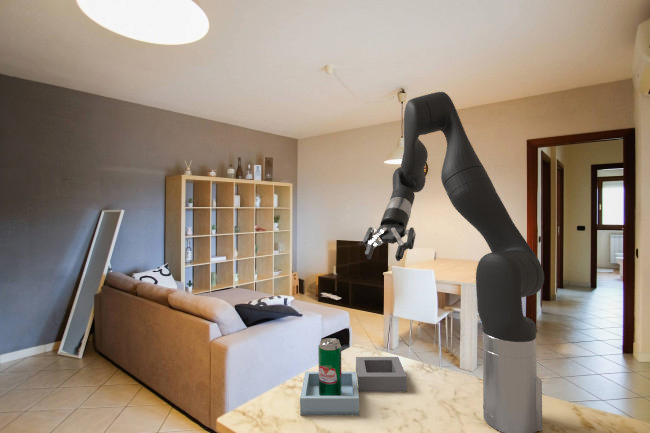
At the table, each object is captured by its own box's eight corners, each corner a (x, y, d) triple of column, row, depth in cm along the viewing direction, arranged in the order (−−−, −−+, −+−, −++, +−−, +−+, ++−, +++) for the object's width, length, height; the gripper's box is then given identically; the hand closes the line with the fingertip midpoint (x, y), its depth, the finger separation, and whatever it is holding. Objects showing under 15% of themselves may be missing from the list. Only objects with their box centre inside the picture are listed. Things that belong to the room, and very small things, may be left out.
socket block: (398, 370, 91) (398, 356, 91) (406, 391, 80) (406, 376, 80) (356, 370, 91) (355, 356, 91) (358, 391, 80) (358, 376, 80)
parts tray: (355, 386, 83) (355, 371, 83) (359, 415, 71) (359, 398, 71) (305, 386, 83) (305, 371, 83) (300, 415, 71) (300, 398, 71)
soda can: (315, 399, 76) (314, 343, 76) (324, 388, 81) (323, 336, 81) (337, 403, 74) (336, 347, 74) (344, 392, 79) (344, 338, 79)
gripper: (371, 207, 106) (354, 248, 97) (417, 206, 99) (404, 250, 89) (378, 224, 111) (363, 265, 101) (423, 224, 103) (411, 268, 94)
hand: (382, 258), depth 95 cm, fingers open, 8 cm apart
